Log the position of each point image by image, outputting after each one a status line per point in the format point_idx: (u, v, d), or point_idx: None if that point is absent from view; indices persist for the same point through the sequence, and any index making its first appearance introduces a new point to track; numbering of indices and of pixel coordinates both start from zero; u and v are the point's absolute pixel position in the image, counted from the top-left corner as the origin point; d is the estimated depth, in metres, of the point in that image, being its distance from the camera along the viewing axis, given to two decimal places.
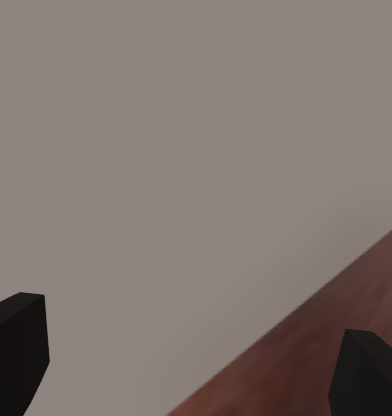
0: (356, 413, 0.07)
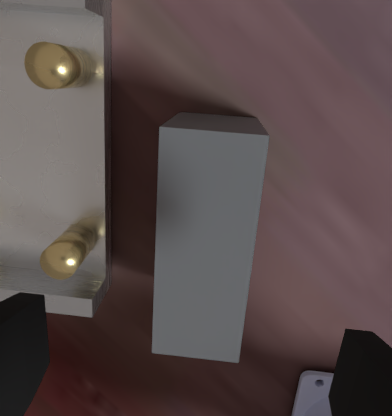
0: (356, 413, 0.07)
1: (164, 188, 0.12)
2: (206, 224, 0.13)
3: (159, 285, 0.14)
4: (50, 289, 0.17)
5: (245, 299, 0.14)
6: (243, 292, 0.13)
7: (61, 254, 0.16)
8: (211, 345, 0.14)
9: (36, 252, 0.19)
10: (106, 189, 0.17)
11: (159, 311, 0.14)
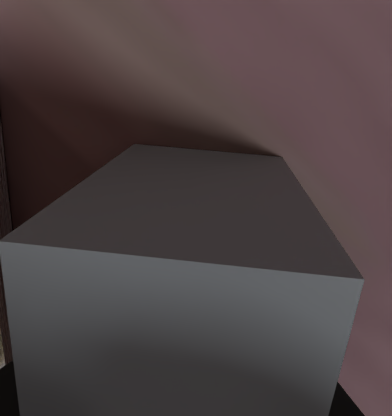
0: None
1: (38, 402, 0.04)
2: None
3: None
4: None
5: None
6: None
7: None
8: None
9: None
10: (1, 284, 0.09)
11: None
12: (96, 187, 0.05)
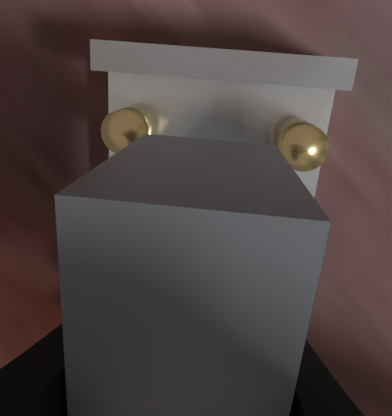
0: None
1: (78, 328, 0.05)
2: (176, 401, 0.06)
3: None
4: None
5: None
6: None
7: None
8: None
9: None
10: None
11: None
12: (119, 163, 0.07)
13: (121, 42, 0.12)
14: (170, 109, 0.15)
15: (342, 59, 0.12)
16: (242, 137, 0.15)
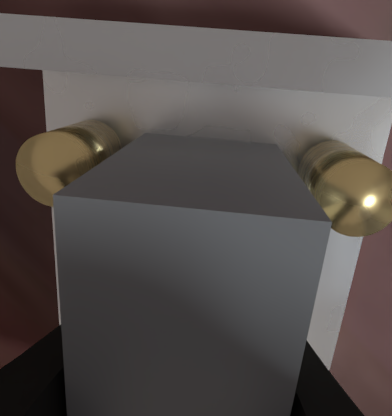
0: None
1: (78, 329, 0.05)
2: (176, 402, 0.06)
3: None
4: None
5: None
6: None
7: None
8: None
9: None
10: (334, 334, 0.12)
11: None
12: (119, 163, 0.06)
13: (44, 18, 0.07)
14: (140, 127, 0.10)
15: None
16: None
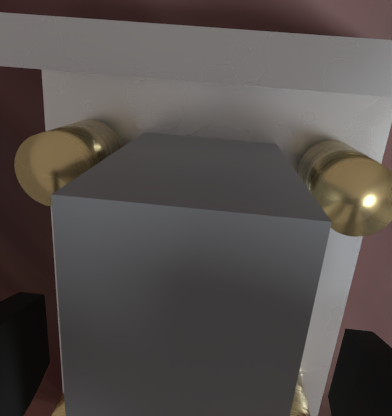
0: (356, 413, 0.07)
1: (76, 329, 0.05)
2: (175, 402, 0.06)
3: None
4: None
5: None
6: None
7: None
8: None
9: None
10: (334, 334, 0.12)
11: None
12: (118, 162, 0.06)
13: (43, 17, 0.07)
14: (140, 127, 0.10)
15: None
16: None
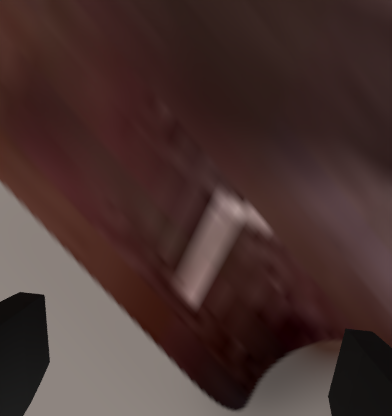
0: (356, 413, 0.07)
1: None
2: None
3: None
4: None
5: None
6: None
7: None
8: None
9: None
10: None
11: None
12: None
13: None
14: None
15: None
16: None
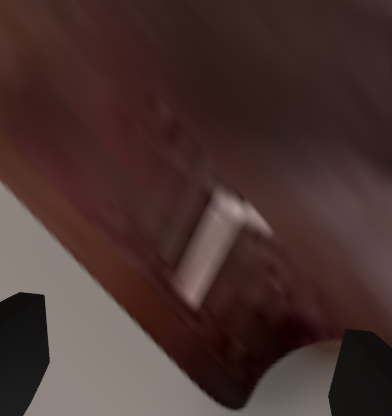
0: (356, 413, 0.07)
1: None
2: None
3: None
4: None
5: None
6: None
7: None
8: None
9: None
10: None
11: None
12: None
13: None
14: None
15: None
16: None
